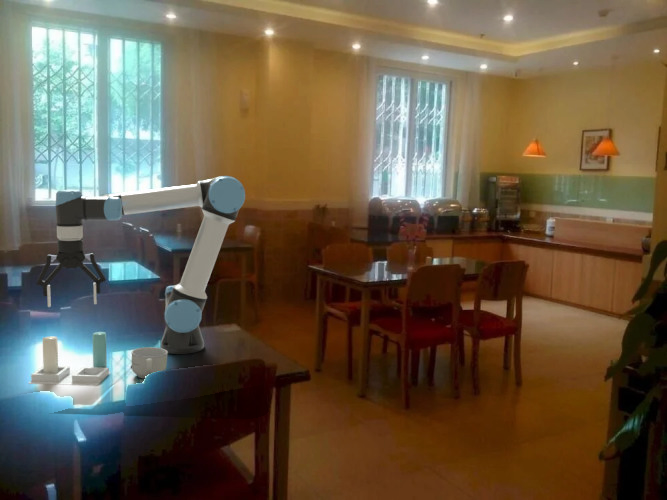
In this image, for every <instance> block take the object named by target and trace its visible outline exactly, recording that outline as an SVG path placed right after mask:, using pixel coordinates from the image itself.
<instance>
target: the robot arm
mask: <svg viewBox="0 0 667 500" xmlns="http://www.w3.org/2000/svg"><path fill="white" fill-rule="evenodd" d="M245 200H246V191H245V187H244V186H243V184H242V182H241V181H240V180H238V179H237V178H235V177H233V176H229V175H220V176H216V177H213V178H209V179H204V180H198V181H197V182H196V183H195V184H194V183H193V184H187V185H179V186H178V185H177V186H170V187H160V188H153V189H144V190H137V191H135V190H134V191H128V192H127V191H126V192H121V193H119V192H118V193H111V194H110V193H105V194H102V195H100V196H83V195H82V191H81V190H78V189H77V190H76V189H75V190H74V189H63V190H62V189H61V190H57V192H56V193H55V217H56V238H57V239H58V240H57V253H56V255H54V254H47V256H46V262H45V265H44V266H43V268H42V270H41V272H40V274H39V276H38V278H37V281H36V285H38V286H41V287H42V290H43V292H42V293H43V294H42V295H43V297H47V308H51V306H52V300H51V299H52V298H51V285H50V282H52V280H53V279H54V278H55V277H56V276H57V275H58V273H60V271H62V269H63V268H64V269H67V270H68V269H77V268H80V269H81V270H83V272H85V274H86V275H87V276H88V277H89V278H91V280H92V281H93V284H92V285H93V305H97V304H98V303H97V302H98V301H97V294H100V293H101V284H102V283H103V282H106V280H107V279H106V276H105V275H104V273H103V272H102V270H101V268H100V267H99V265H98V263H97V262H96V259H95V254H94V253H93V252H91V253H84V240H83V237H84V232H83V231H84V230H83V225H84V224H83V221H108V222H111V221H120V220H121V219H122V217H123V216H125V215H126V216H127V215H132V214H143V213H149V212H150V213H151V212H156V211H157V212H158V211H166V210H175V209H182V208H184V209H185V208H193V207H200V208H201V211H202V214H203V218H202V222H201V224H200V227H199V230H198V232H197V235H196V238H195V240H194V243H193V246H192V249H191V252H190V254H189V257H188V260H187V263H186V265H185V269H184V271H183V273H182V276H181V278H180V281H179V283H177V284H175V285H168V286H166V288H165V293H164V296H165V309H164V321H165V329H164V331H163V335H162V338H161V341H160V348H162V349H165V350H167V351H168V354H171V355H188V354H194V353H199V352H200V351H203V349H204V348H205V340H204V338H203V335H202V332H201V329H200V323H201V321H202V319H203V318H202V316H203V314H202V312H203V310H204V307H205V305H206V301H207V300H208V296H207V293H206V288H207V286H208V282H209V281H210V278H211V274H212V272H213V269H214V267H215V264H216V261H217V258H218V255H219V252H220V251H221V247H222V244H223V242H224V238H225V236H226V233H227V231H228V228H229V225H231V224H233V223H235V222H236V219H237V217H238V213H239V211H240V209H241V208H242V207H243V205H244V203H245ZM86 259H87V261H90V262H91V265H92V266H93V268H94V270H95V272H96V274H97V275H98V277H99V278H98V277H97V275H95V274H94V273H93V271H91V270H90V269H89V268H88V267H87V266H86V264H84V263H83V262H84V261H85V260H86ZM55 260H56V261H57V262H58V265H57V266H56V267H55V268H54V270H52V272H51V273H50V274H49V276H48V277H46V279H45V280H43V279H44V277H45V276H46V274H47V273H48V270H49V267H50V266H51V263H53V262H54V261H55Z"/></svg>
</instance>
